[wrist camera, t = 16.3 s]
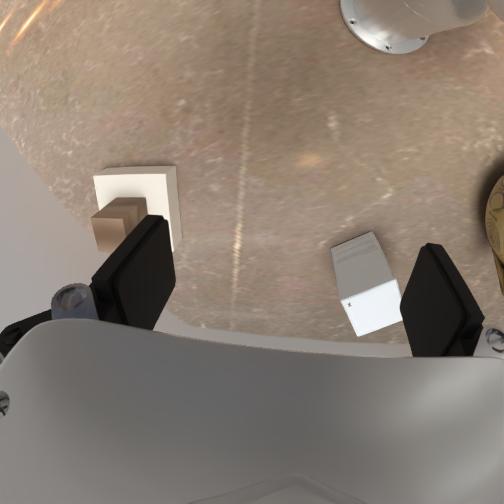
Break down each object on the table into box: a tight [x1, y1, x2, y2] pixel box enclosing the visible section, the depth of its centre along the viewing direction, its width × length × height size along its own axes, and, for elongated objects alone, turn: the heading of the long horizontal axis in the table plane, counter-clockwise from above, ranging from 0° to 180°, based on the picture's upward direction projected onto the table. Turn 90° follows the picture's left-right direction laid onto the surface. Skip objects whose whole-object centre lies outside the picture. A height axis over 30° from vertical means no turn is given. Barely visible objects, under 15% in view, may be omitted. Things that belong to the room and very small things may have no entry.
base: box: [93, 166, 182, 252], centre depth 44 cm, size 12×12×4 cm
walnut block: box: [91, 197, 148, 253], centre depth 39 cm, size 5×5×7 cm
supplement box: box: [331, 231, 403, 336], centre depth 40 cm, size 7×7×13 cm
